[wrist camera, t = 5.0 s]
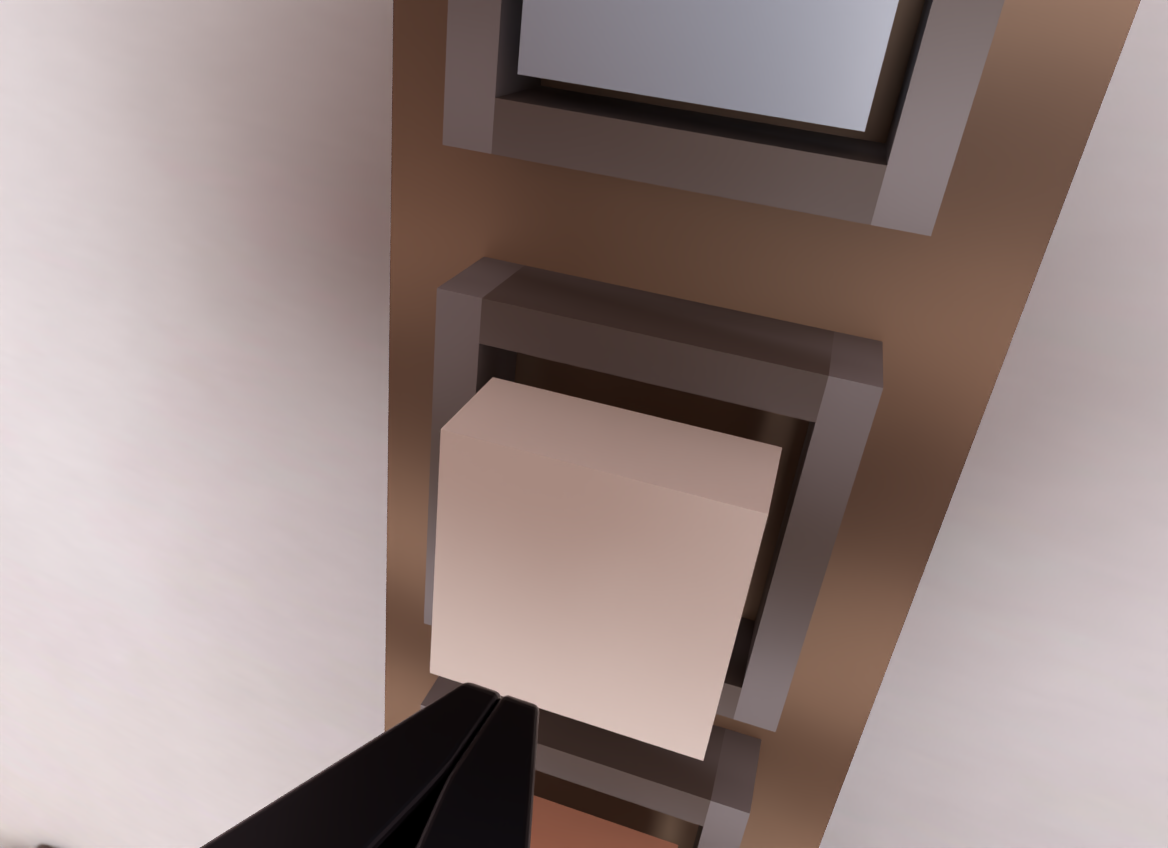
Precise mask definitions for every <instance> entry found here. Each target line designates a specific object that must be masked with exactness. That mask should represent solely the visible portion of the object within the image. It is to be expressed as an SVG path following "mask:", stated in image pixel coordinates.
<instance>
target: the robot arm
mask: <svg viewBox="0 0 1168 848" xmlns="http://www.w3.org/2000/svg"><path fill="white" fill-rule="evenodd" d="M538 724H539V708H538V707H537V705H535V704H533V703H530V702H527V701H524V700H521V699H518V698H515V697H512V696H509V695H506V696H503V697H502V698H501V695H500V694H499V693H498V692H497V691H495V690H492V689H489V688H486V687H483V686H480V685H477V684H474V683H470V682H467V683H463V684H461V685H459V686H457V687H456V688H454V689H453V690H451V691H449V692H448V693H446V694H445V695H443V696H441V697H440V698H438V699H437V700H435V701H433V702H432V703H430V704H429V705H427V706H425V707H424V708H422V709H421V710H419V711H417V712H416V713H414V714H413V715H411V716H409V717H408V718H406V719H405V720H403V721H401V722H400V723H398V724H397V725H395V726H393V727H392V728H390V729H389V730H387V731H386V732H384V733H382V734H381V735H379V736H378V737H376V738H374V739H373V740H371V741H370V742H368V743H366V744H365V745H363V746H362V747H360V748H358V749H357V750H355V751H354V752H352V753H350V754H349V755H347V756H346V757H344V758H342V759H341V760H339V761H338V762H336V763H334V764H333V765H331V766H330V767H328V768H326V769H325V770H323V771H322V772H320V773H318V774H317V775H315V776H314V777H312V778H310V779H309V780H307V781H306V782H304V783H302V784H301V785H299V786H298V787H296V788H294V789H293V790H291V791H290V792H288V793H287V794H285V795H283V796H282V797H280V798H279V799H277V800H275V801H274V802H272V803H271V804H269V805H267V806H266V807H264V808H263V809H261V810H259V811H258V812H256V813H255V814H253V815H251V816H250V817H248V818H247V819H245V820H243V821H242V822H240V823H239V824H237V825H235V826H234V827H232V828H231V829H229V830H227V831H226V832H224V833H223V834H221V835H219V836H218V837H216V838H215V839H213V840H211V841H210V842H208V843H207V844H205V845H203V846H202V847H200V848H530V843H531V828H532V813H533V798H534V783H535V768H536V753H537V739H538Z"/></svg>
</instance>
